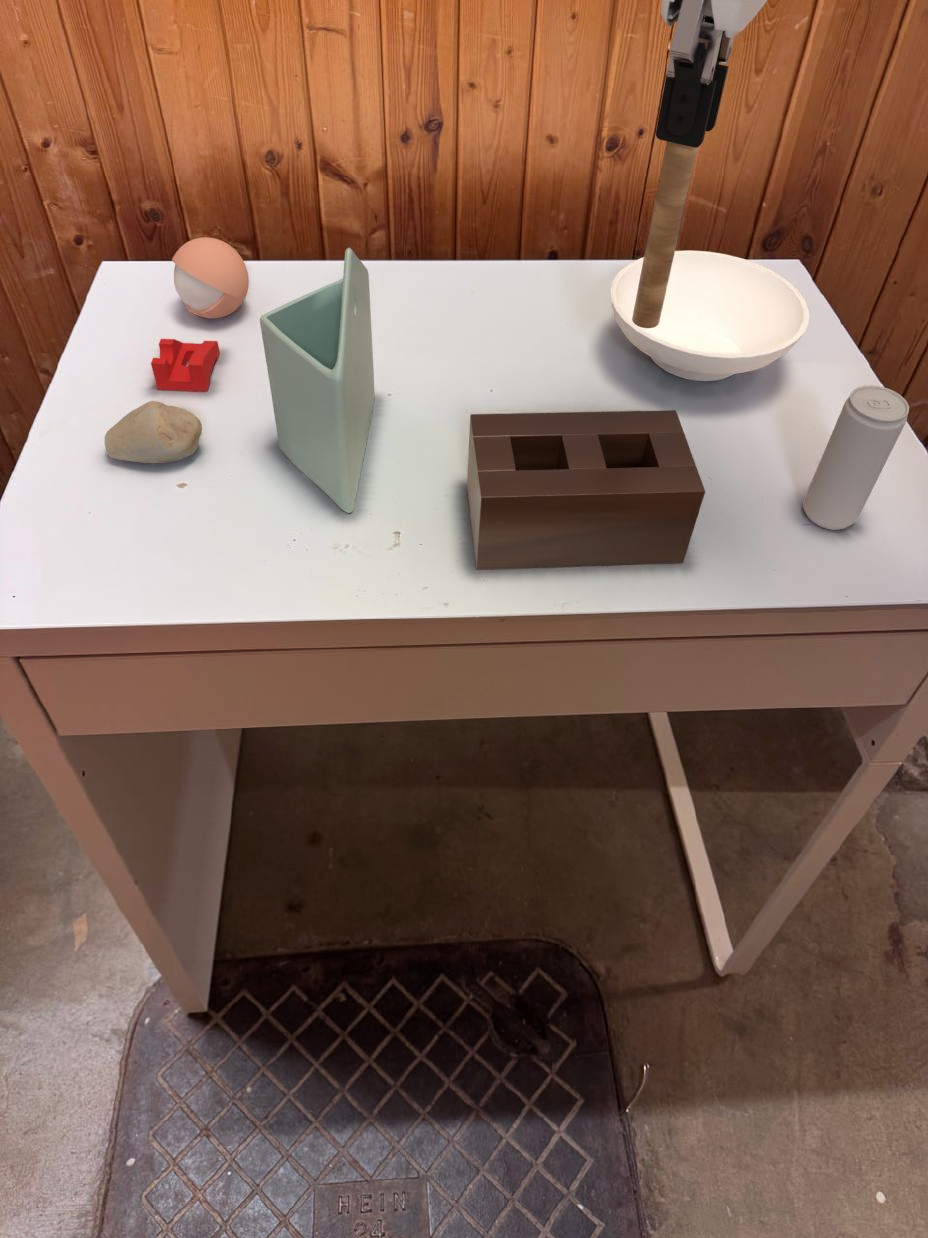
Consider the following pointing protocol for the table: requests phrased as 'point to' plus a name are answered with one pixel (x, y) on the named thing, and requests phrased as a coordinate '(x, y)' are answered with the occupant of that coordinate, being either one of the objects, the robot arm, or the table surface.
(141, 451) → the stone
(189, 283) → the toy ball
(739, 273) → the bowl
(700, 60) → the robot arm
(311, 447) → the planter
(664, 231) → the stirring stick
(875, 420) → the beverage can
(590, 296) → the table surface
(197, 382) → the bracket
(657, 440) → the holder
